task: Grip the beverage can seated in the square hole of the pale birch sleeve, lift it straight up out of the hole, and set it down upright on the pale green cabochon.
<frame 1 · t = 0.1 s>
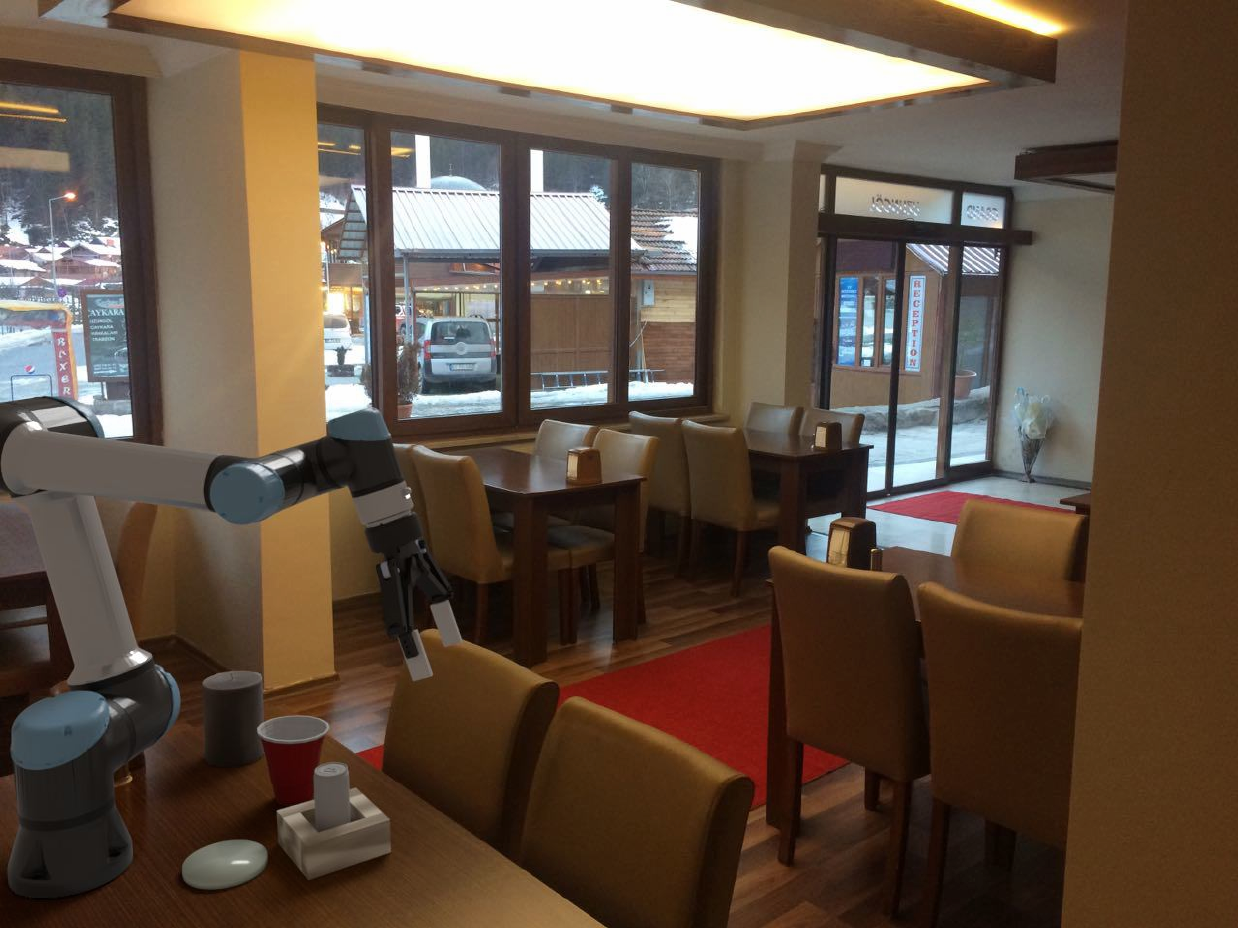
hand: (439, 660, 143), 28 cm above the table, tool tilted 20°, fingers open, 13 cm apart
birch sleeve: (334, 847, 146), on the table
pillar candle: (236, 756, 175), on the table
pale green cabochon: (225, 866, 141), on the table
beverage can: (334, 848, 146), resting in birch sleeve
plastic cup: (296, 798, 161), on the table
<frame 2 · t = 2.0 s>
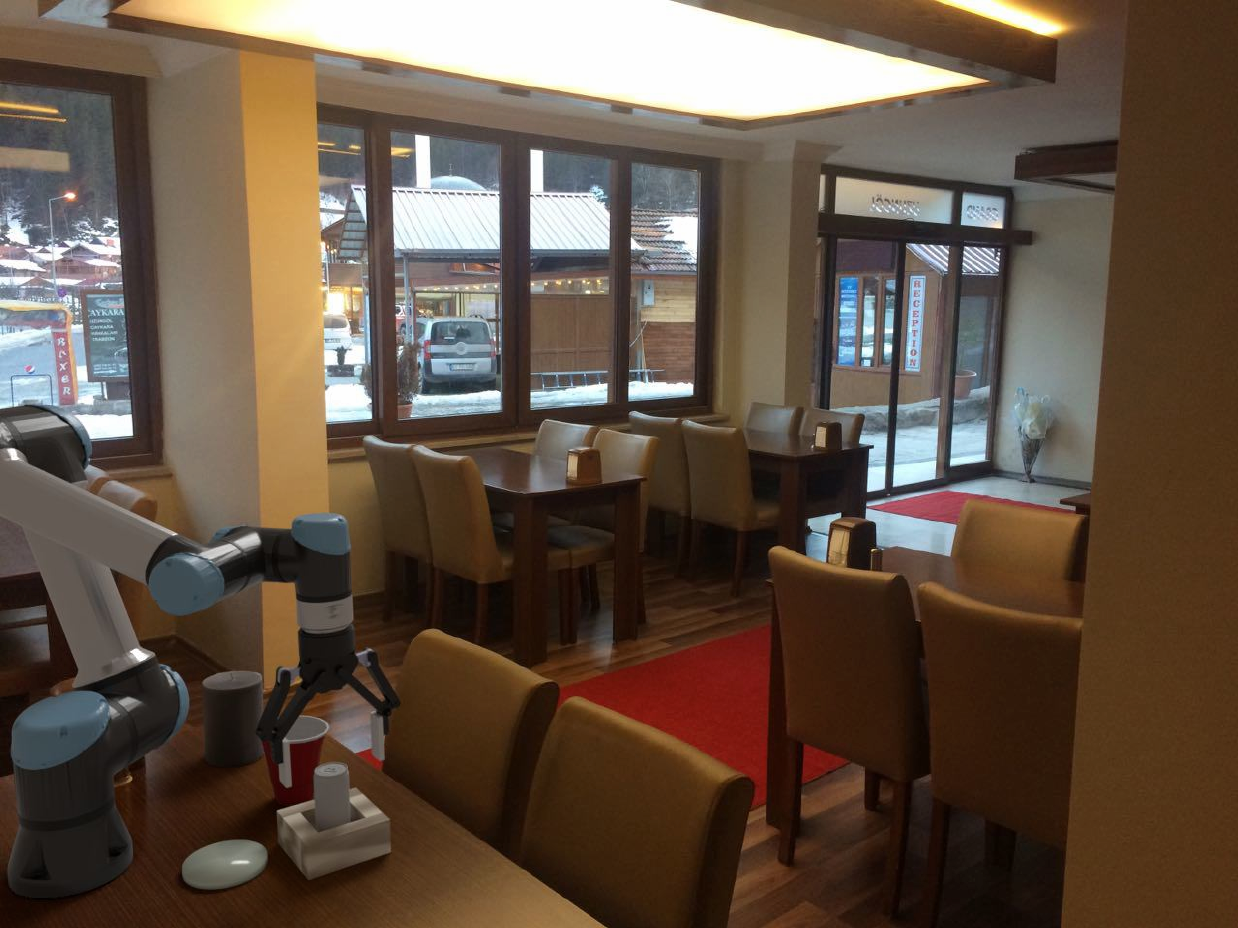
hand: (333, 770, 144), 12 cm above the table, tool pointing down, fingers open, 13 cm apart
nothing on the table moved.
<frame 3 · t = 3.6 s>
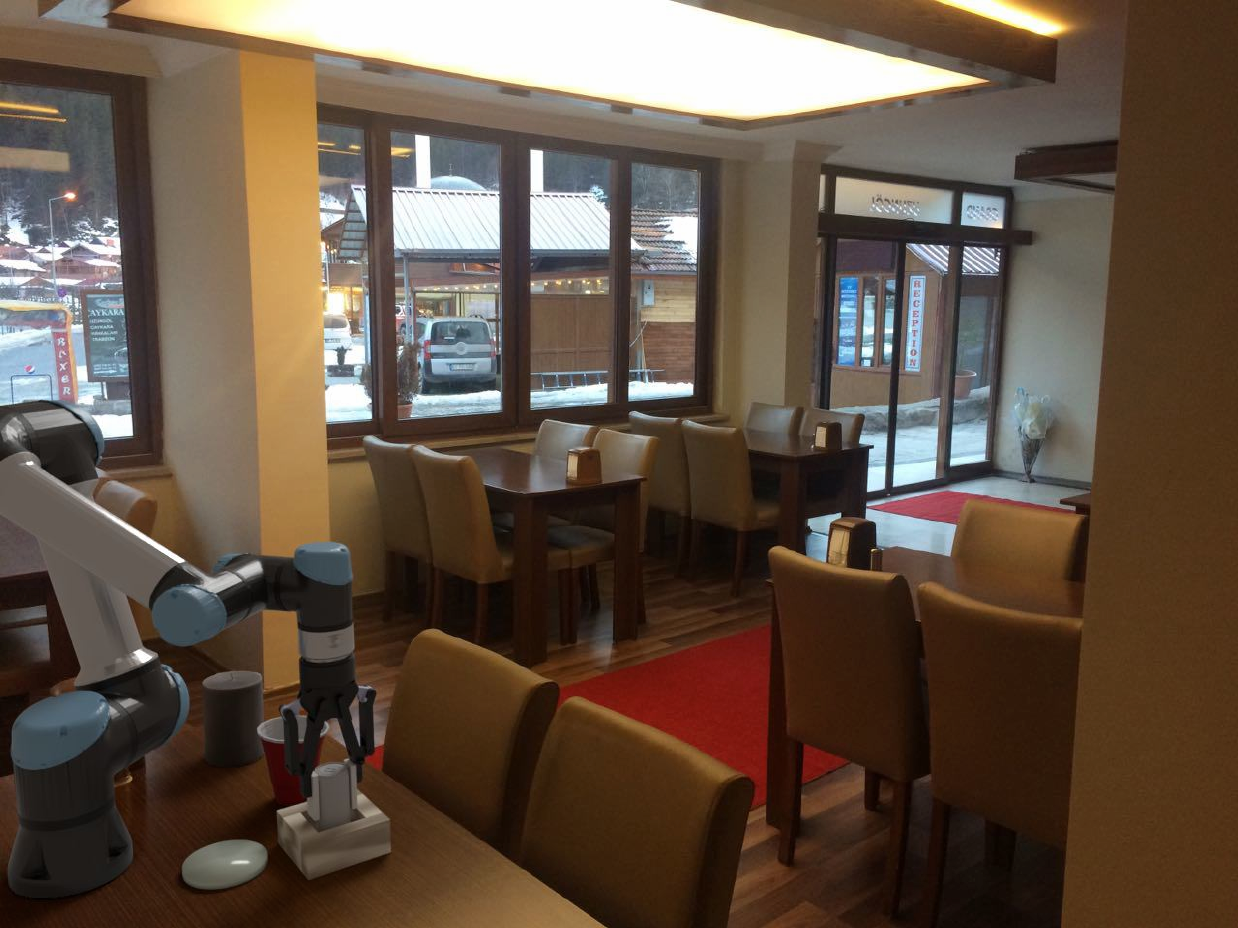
hand: (332, 810, 145), 6 cm above the table, tool pointing down, fingers closed on beverage can, 5 cm apart
beverage can: (334, 848, 146), resting in birch sleeve, touching gripper
everything else where it was.
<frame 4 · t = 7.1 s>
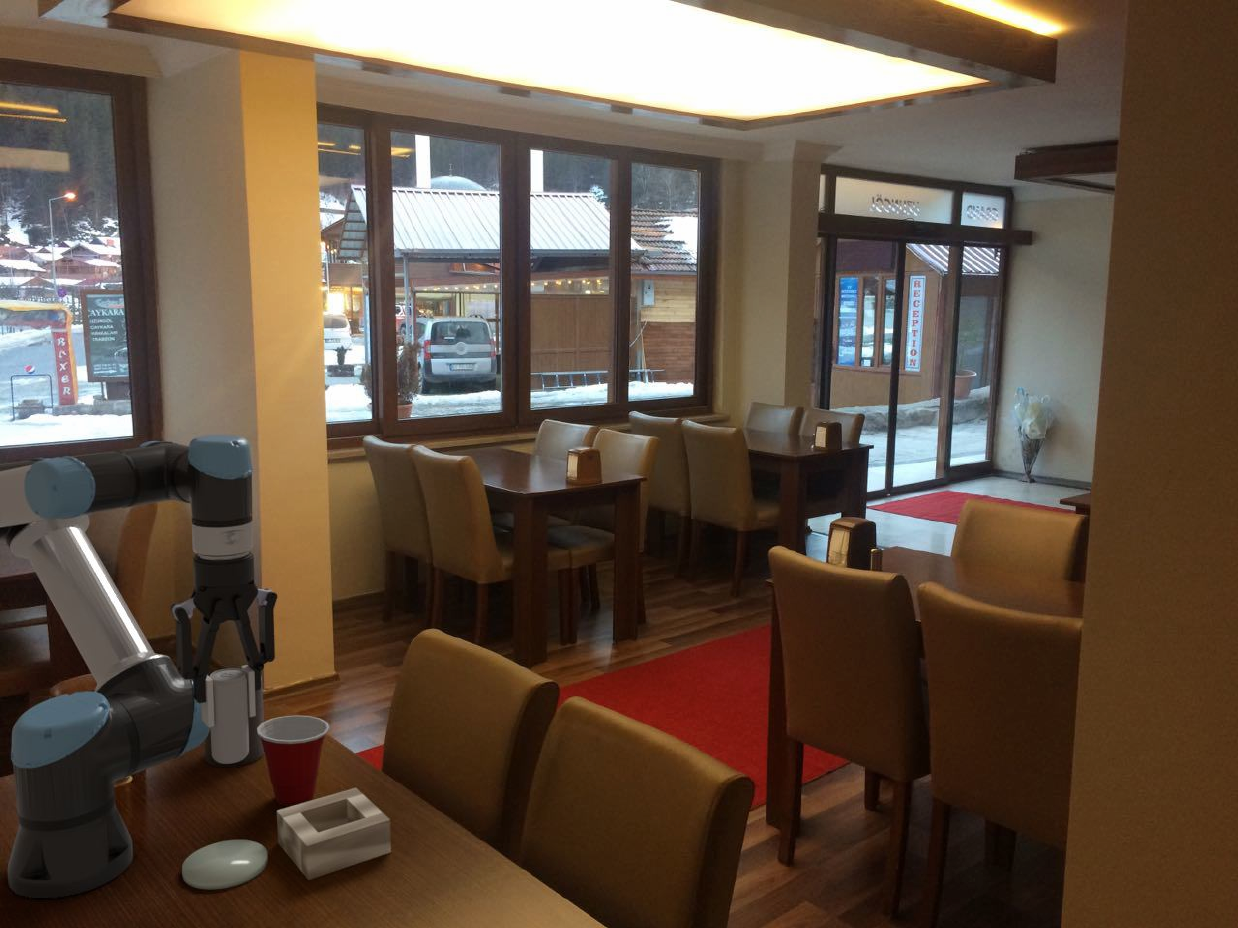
hand: (228, 717, 139), 21 cm above the table, tool pointing down, fingers closed on beverage can, 5 cm apart
beverage can: (230, 758, 140), point 15 cm above the table, touching gripper
everything else where it was.
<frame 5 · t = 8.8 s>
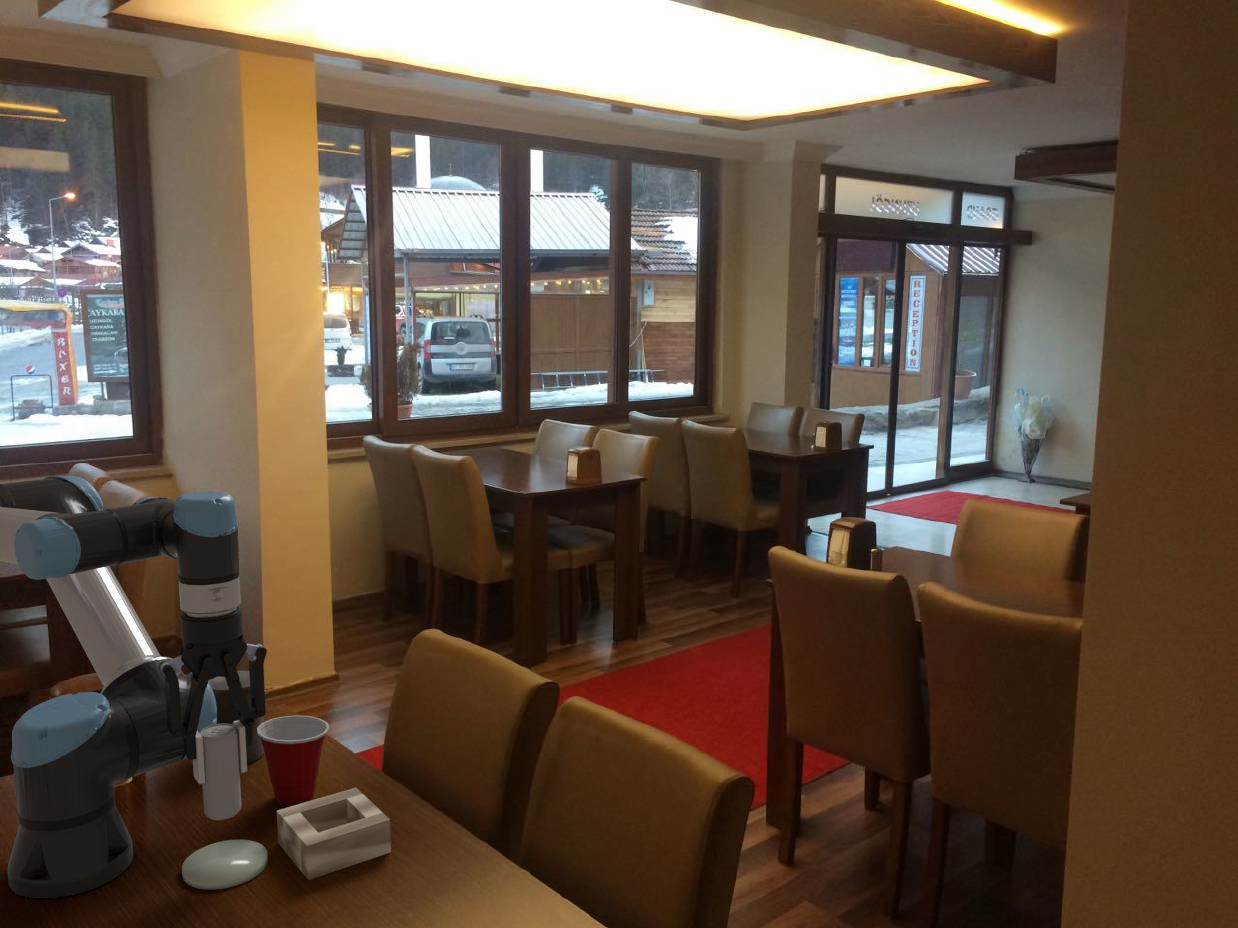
hand: (220, 773, 139), 14 cm above the table, tool pointing down, fingers closed on beverage can, 5 cm apart
beverage can: (223, 814, 139), point 8 cm above the table, touching gripper
everything else where it was.
when the fingers open (8 cm above the table, at t = 10.5 s): beverage can drops 1 cm, resting on pale green cabochon.
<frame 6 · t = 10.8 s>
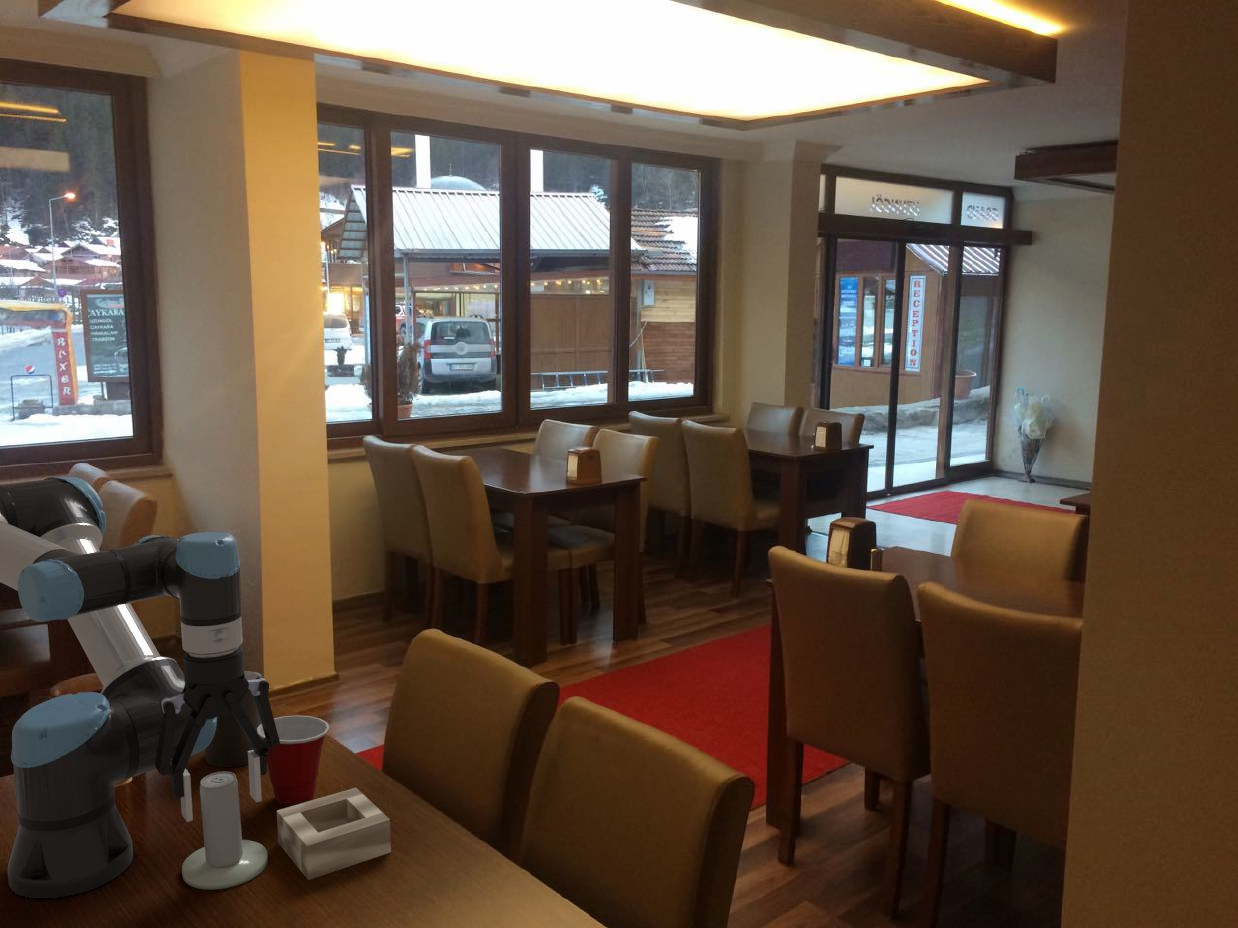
hand: (222, 807, 139), 9 cm above the table, tool pointing down, fingers open, 8 cm apart
beverage can: (224, 861, 141), point 1 cm above the table, touching pale green cabochon
everything else where it was.
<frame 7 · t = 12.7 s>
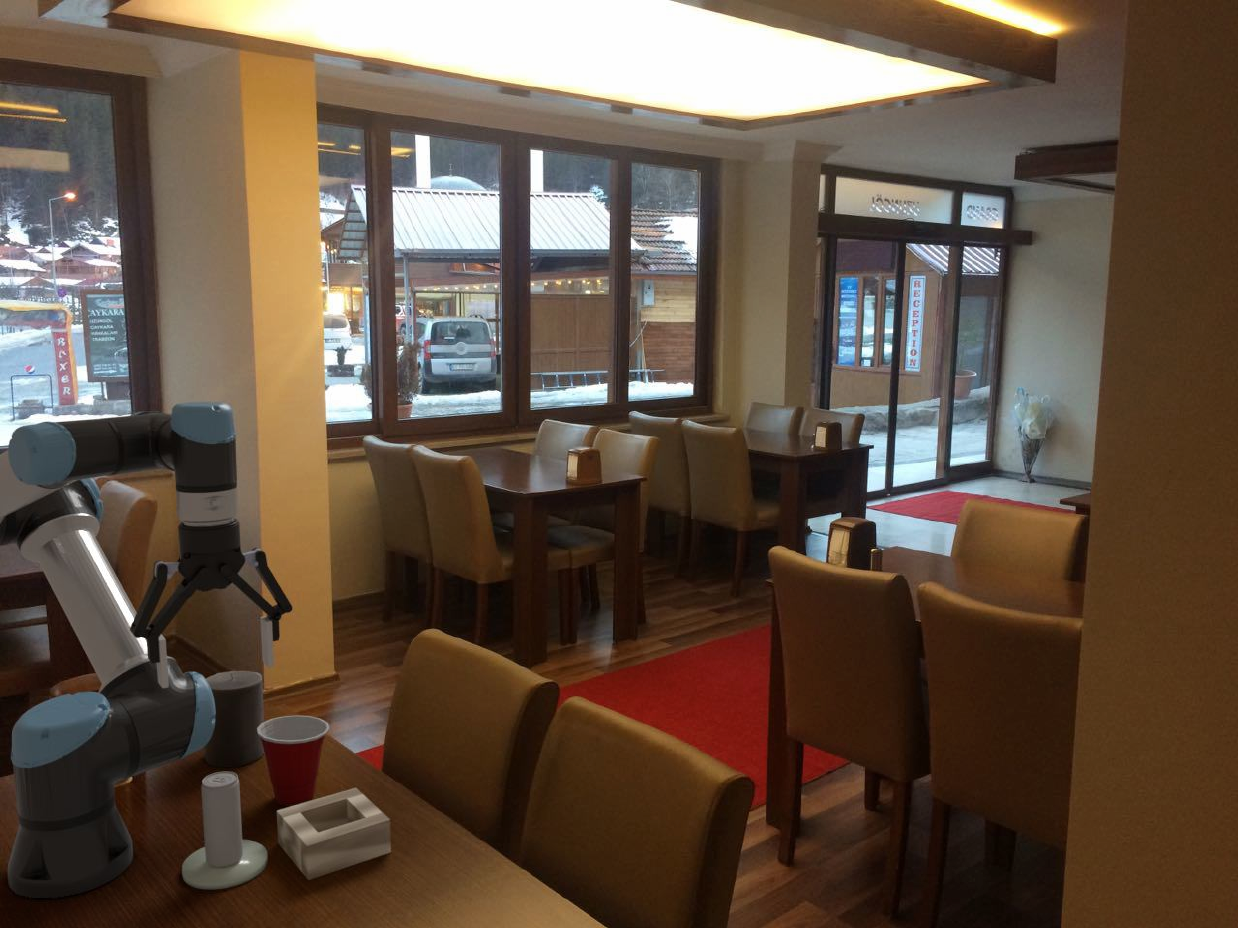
hand: (217, 674, 137), 28 cm above the table, tool pointing down, fingers open, 13 cm apart
nothing on the table moved.
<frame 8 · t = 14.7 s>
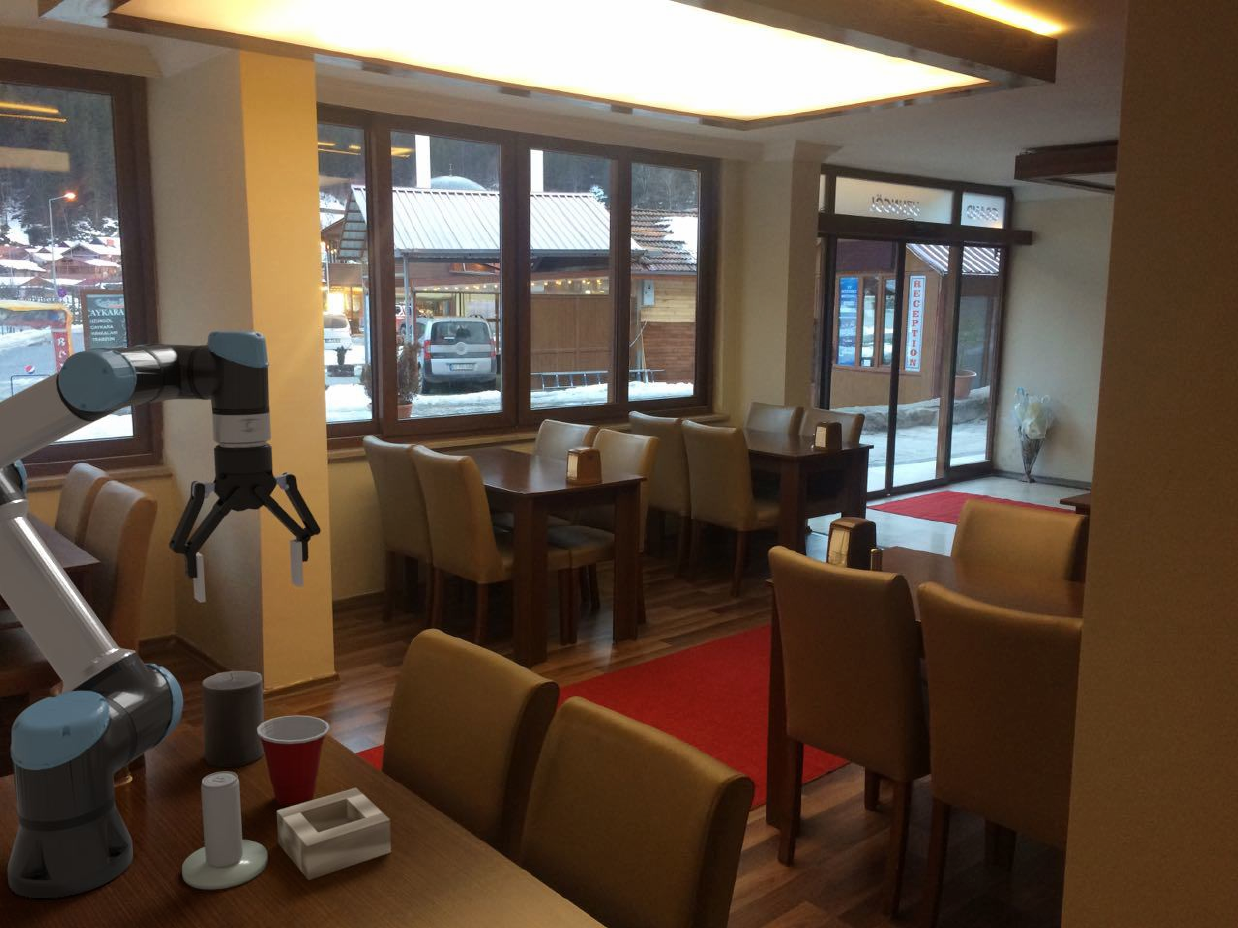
hand: (250, 592, 144), 37 cm above the table, tool pointing down, fingers open, 13 cm apart
nothing on the table moved.
at the end: beverage can inside the target area on the pale green cabochon (0.1 cm from its centre), point 0.8 cm above the pale green cabochon's base; beverage can tilted 0°; the gripper is holding nothing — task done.
